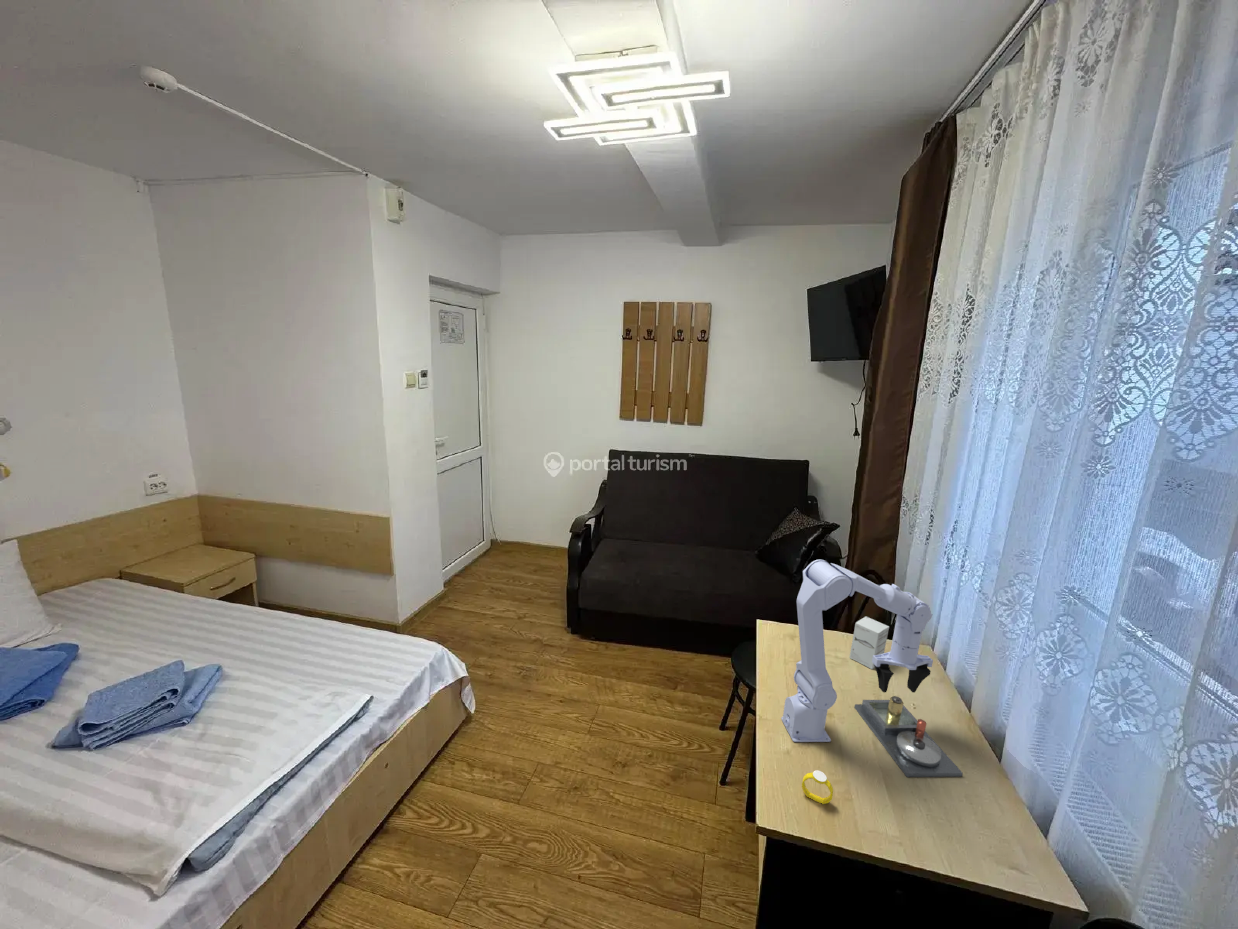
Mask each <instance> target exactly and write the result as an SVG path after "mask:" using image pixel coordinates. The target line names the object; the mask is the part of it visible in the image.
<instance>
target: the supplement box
mask: <svg viewBox="0 0 1238 929" xmlns="http://www.w3.org/2000/svg"><path fill="white" fill-rule="evenodd" d="M853 629H854V631H853V637H852V640H851V641H852V642H851V646H850V652H849V658H850V659H851V660H854V661H856V662H857V663H859V664H861V665H862V666H864V667H866V668H868V669H870V670H874V669H875V666H874V664H873V663H872V658H873V655H880V654H883V653H885V649H886V644H887V639H888V635H889V629H890V626H889V625H887V624H885V623H882V622H880V621H877V620H876V619H873V618H870V617H869V616H864V617H863V618H861V619H859V620H857V621H856V622H855V624H854V628H853Z"/></svg>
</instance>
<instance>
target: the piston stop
mask: <svg viewBox="0 0 1238 929" xmlns="http://www.w3.org/2000/svg"><path fill="white" fill-rule="evenodd" d="M889 700H890V701H889V706H888V710H887V715H886V721H887V722H888V723H890V724H892V725H899V722H900V717H901V712H902V708H903V705H904V702H903V699H902V698H901V697H899V696H896V695H893V696H891V697H889Z"/></svg>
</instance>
